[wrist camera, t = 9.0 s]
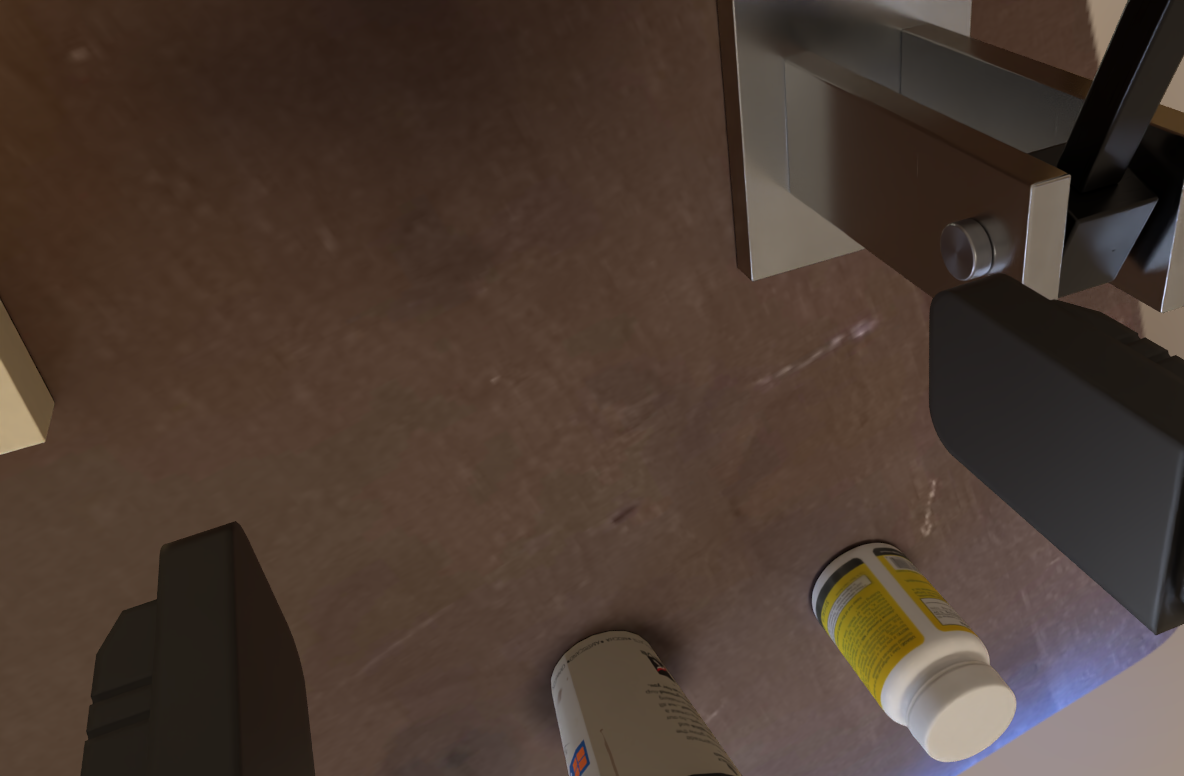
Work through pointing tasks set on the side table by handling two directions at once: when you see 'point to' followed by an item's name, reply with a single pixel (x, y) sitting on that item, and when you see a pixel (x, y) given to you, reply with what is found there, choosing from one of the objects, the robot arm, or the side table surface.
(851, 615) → the supplement bottle
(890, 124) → the bracket
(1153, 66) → the lever
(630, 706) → the coffee cup
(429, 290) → the side table surface
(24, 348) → the control block
